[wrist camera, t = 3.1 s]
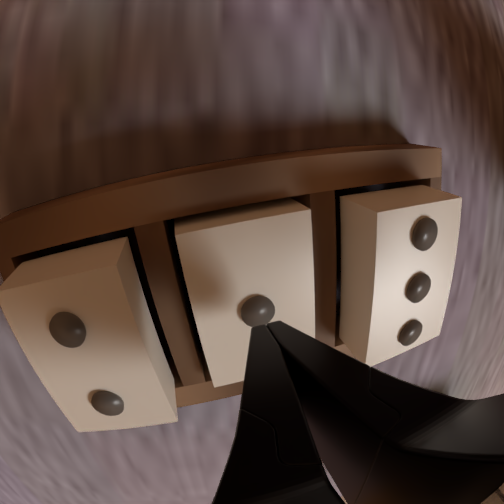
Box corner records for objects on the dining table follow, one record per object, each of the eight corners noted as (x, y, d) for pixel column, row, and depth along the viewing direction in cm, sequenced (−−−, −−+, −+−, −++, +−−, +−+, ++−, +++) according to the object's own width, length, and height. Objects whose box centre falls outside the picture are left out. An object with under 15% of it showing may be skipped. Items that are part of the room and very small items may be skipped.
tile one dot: (285, 195, 11) (312, 210, 9) (295, 329, 13) (316, 362, 11) (174, 215, 10) (174, 237, 8) (206, 351, 13) (214, 390, 11)
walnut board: (410, 143, 12) (441, 148, 10) (400, 312, 16) (422, 330, 14) (10, 213, 9) (-14, 228, 7) (86, 389, 13) (80, 419, 11)
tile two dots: (127, 236, 9) (115, 267, 7) (174, 379, 11) (178, 424, 9) (22, 261, 8) (-8, 295, 6) (85, 392, 11) (77, 435, 8)
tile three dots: (422, 184, 11) (464, 198, 9) (410, 310, 13) (441, 336, 11) (339, 196, 10) (380, 213, 8) (338, 337, 13) (366, 371, 10)
